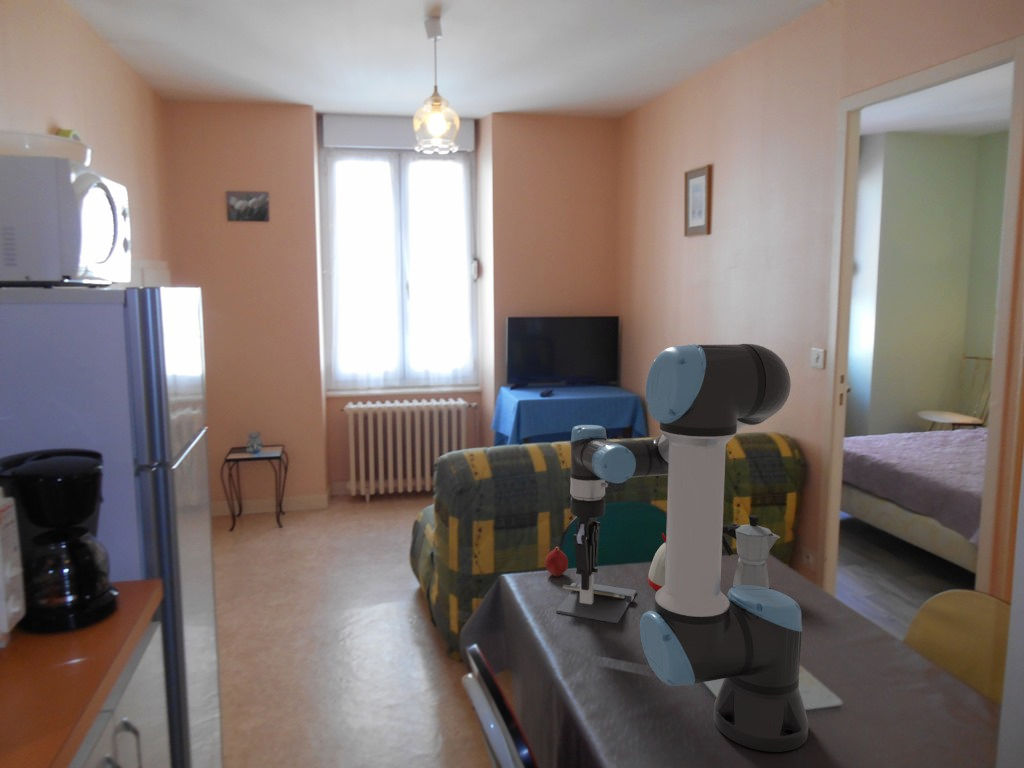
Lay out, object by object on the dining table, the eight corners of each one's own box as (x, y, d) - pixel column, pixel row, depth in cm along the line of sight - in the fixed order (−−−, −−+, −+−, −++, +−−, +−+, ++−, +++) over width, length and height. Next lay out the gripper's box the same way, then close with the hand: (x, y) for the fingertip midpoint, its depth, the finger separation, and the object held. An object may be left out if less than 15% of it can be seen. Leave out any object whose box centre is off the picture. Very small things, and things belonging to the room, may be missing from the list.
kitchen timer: (703, 599, 168) (705, 537, 167) (644, 591, 173) (645, 531, 171) (707, 578, 181) (709, 520, 180) (652, 571, 186) (653, 515, 184)
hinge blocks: (631, 602, 165) (631, 596, 165) (569, 592, 171) (569, 586, 171) (633, 598, 167) (633, 592, 167) (572, 588, 173) (572, 582, 173)
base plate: (617, 623, 155) (617, 620, 155) (556, 612, 161) (556, 610, 161) (636, 592, 172) (636, 590, 172) (580, 583, 177) (580, 581, 177)
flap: (626, 595, 167) (626, 599, 167) (578, 587, 172) (577, 591, 171) (613, 592, 156) (613, 596, 156) (562, 584, 160) (561, 588, 160)
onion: (541, 574, 184) (542, 544, 183) (562, 571, 185) (563, 541, 184) (549, 582, 178) (550, 551, 177) (571, 580, 180) (571, 549, 179)
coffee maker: (782, 587, 175) (785, 515, 173) (774, 599, 168) (777, 524, 166) (721, 574, 183) (723, 506, 181) (710, 586, 176) (712, 514, 174)
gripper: (596, 505, 148) (594, 615, 150) (612, 491, 160) (610, 594, 162) (561, 501, 151) (560, 610, 153) (580, 488, 163) (578, 590, 165)
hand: (586, 602), depth 157 cm, fingers closed
